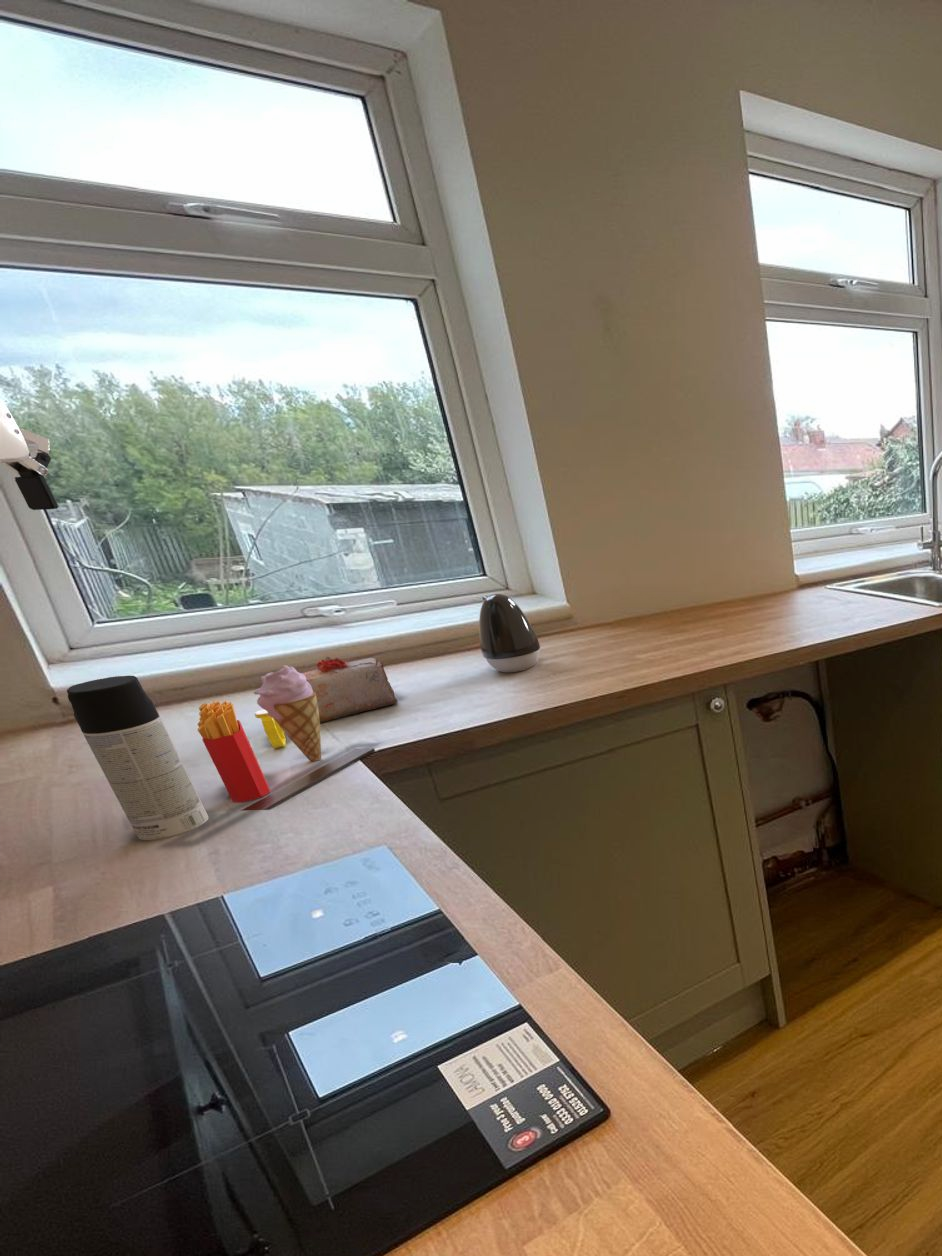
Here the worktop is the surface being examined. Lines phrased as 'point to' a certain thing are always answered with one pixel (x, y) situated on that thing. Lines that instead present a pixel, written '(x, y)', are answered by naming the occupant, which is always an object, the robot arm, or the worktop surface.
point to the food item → (349, 687)
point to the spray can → (137, 756)
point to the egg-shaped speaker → (506, 635)
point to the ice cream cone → (293, 708)
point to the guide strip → (309, 780)
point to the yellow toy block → (271, 729)
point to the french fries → (231, 752)
